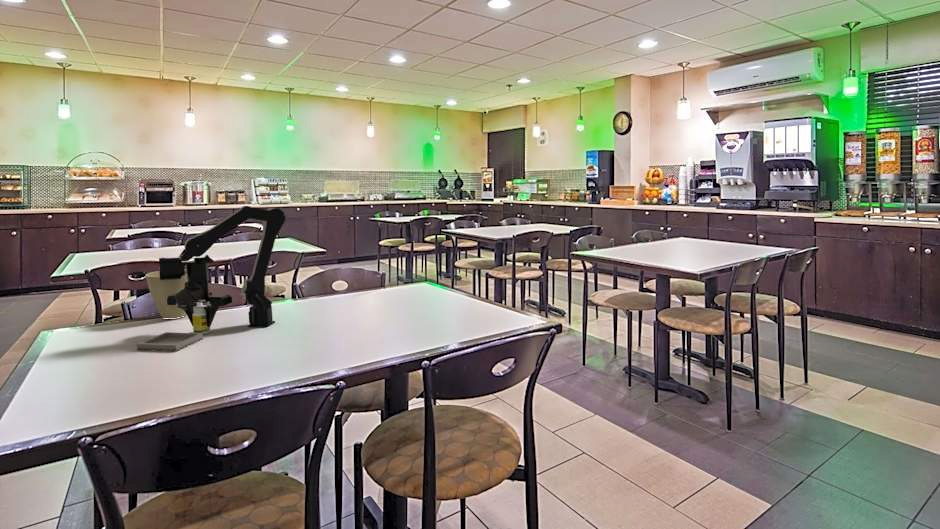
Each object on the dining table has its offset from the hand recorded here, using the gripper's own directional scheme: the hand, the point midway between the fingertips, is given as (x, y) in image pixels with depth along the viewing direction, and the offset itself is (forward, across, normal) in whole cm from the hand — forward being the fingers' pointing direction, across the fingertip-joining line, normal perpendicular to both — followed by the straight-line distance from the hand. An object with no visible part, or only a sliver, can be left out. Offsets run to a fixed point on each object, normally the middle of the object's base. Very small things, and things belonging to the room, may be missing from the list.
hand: (201, 326), depth 168 cm
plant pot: (+2, -22, +17) cm, 28 cm away
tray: (+2, -1, -13) cm, 13 cm away
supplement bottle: (+2, 0, 0) cm, 2 cm away
